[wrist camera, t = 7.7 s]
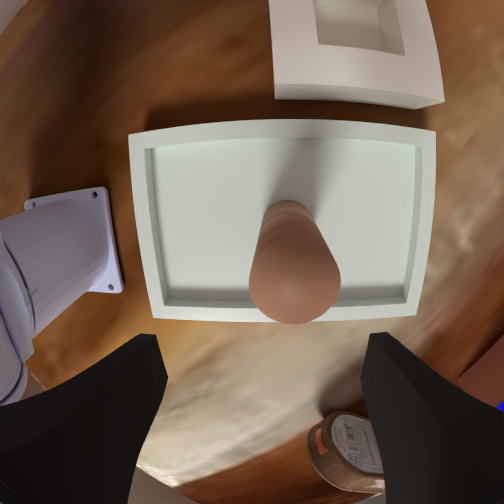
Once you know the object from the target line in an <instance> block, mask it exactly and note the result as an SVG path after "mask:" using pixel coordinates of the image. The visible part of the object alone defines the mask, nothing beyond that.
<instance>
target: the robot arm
mask: <svg viewBox="0 0 504 504" xmlns="http://www.w3.org/2000/svg"><path fill="white" fill-rule="evenodd" d="M95 192H96V193H97V197H95V195H94V194H95ZM35 203H36V205H35ZM111 284H112V285H113V287H114V288H112V287H111ZM123 289H124V285H123V281H122V276H121V271H120V267H119V262H118V256H117V251H116V245H115V240H114V234H113V227H112V220H111V213H110V206H109V198H108V191H107V189H106V188H105V187H95V188H89V189H82V190H76V191H70V192H65V193H59V194H54V195H49V196H44V197H39V198H34V199H29V200H26V201H25V211H24V212H21V213H18V214H16V215H13V216H10V217H8V218H5V219H2V220H0V504H127V503H128V497H129V491H130V487H131V483H132V478H133V474H134V471H135V467H136V463H137V460H138V456H139V454H140V451H141V448H142V446H143V443H144V441H145V439H146V436H147V434H148V432H149V430H150V427H151V425H152V423H153V420H154V418H155V416H156V413H157V411H158V409H159V406H160V404H161V402H162V399H163V395H164V392H165V388H166V384H167V380H168V375H167V372H166V369H165V365H164V362H163V359H162V355H161V352H160V348H159V345H158V341H157V338H156V335H153V334H139V335H137V336H135V337H134V338H132V339H131V340H129V341H128V342H126V343H125V344H123V345H122V346H120V347H119V348H117V349H116V350H115V351H113V352H112V353H110V354H109V355H107V356H106V357H104V358H103V359H101V360H100V361H98V362H97V363H96V364H94V365H92V366H91V367H89V368H87V369H86V370H84V371H83V372H81V373H79V374H78V375H76V376H75V377H73V378H71V379H69V380H68V381H66V382H64V383H62V384H60V385H58V386H56V387H54V388H52V389H50V390H47V391H45V392H43V393H40V394H37V395H35V396H32V397H29V398H27V399H24V400H21V401H19V400H20V398H21V396H22V395H23V393H24V390H25V387H26V384H27V377H28V375H27V368H26V365H25V363H24V362H25V361H26V360H27V359H28V358H29V357H30V356H31V355H32V354H33V353H34V349H33V345H32V339H33V338H34V337H35V336H36V335H37V334H38V333H39V332H40V331H41V330H43V329H44V328H45V327H46V326H47V325H48V324H49V323H50V322H51V321H52V320H54V319H55V318H56V317H57V316H58V315H59V314H60V313H62V312H63V311H64V310H65V309H66V308H67V307H68V306H70V305H71V304H72V303H73V302H74V301H75V300H77V299H78V298H79V297H80V296H81V295H82V294H84V293H85V292H86V291H94V292H108V293H120V292H121V291H122V290H123ZM360 379H361V384H362V391H363V396H364V402H365V405H366V409H367V412H368V415H369V419H370V422H371V425H372V428H373V432H374V435H375V439H376V442H377V445H378V449H379V452H380V457H381V461H382V467H383V474H384V483H385V494H386V504H504V411H502V410H499V409H497V408H495V407H493V406H491V405H488V404H486V403H484V402H482V401H480V400H478V399H477V398H475V397H473V396H471V395H470V394H468V393H466V392H465V391H463V390H461V389H460V388H458V387H456V386H455V385H453V384H452V383H451V382H449V381H448V380H446V379H445V378H444V377H442V376H441V375H439V374H438V373H437V372H435V371H434V370H433V369H431V368H430V367H429V366H428V365H426V364H425V363H424V362H423V361H421V360H420V359H419V358H418V357H417V356H415V355H414V354H413V353H412V352H411V351H409V350H408V349H407V348H406V347H405V346H403V345H402V344H401V343H400V342H399V341H397V340H396V339H395V338H394V337H393V336H391V335H390V334H389V333H387V332H382V333H371V334H370V336H369V341H368V346H367V351H366V356H365V360H364V365H363V369H362V373H361V378H360Z"/></svg>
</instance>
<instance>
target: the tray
mask: <svg viewBox="0 0 504 504" xmlns="http://www.w3.org/2000/svg"><path fill="white" fill-rule="evenodd" d="M128 136H129V154H130V169H131V180H132V191H133V200H134V209H135V217H136V225H137V232H138V239H139V245H140V251H141V257H142V263H143V269H144V274H145V280H146V285H147V290H148V295H149V300H150V304H151V309H152V313H153V318H165V319H182V320H202V321H231V322H278V321H275V320H273V319H271V318H269V317H267V316H266V315H264V314H263V313H262V312H261V311H260V310H259V309H258V308H257V307H256V305H255V304H254V302H253V300H252V298H251V295H250V291H249V276H250V271H251V267H252V262H253V258H254V254H255V250H256V245H257V241H258V237H259V232H260V228H261V224H262V219H263V216H264V214H265V212H266V211H267V209H268V208H269V207H270V206H271V205H273V204H274V203H276V202H278V201H282V200H293V201H297V202H299V203H301V204H302V205H304V206H305V207H306V208H307V209H308V211H309V212H310V214H311V216H312V217H313V219H314V221H315V223H316V225H317V227H318V229H319V230H320V232H321V234H322V236H323V238H324V240H325V242H326V244H327V246H328V247H329V249H330V251H331V253H332V255H333V257H334V259H335V261H336V263H337V265H338V268H339V271H340V276H341V286H340V291H339V294H338V296H337V299H336V301H335V302H334V304H333V305H332V306H331V308H330V309H329V310H328V311H327V312H325V313H324V314H323V315H321V316H320V317H318V318H316V319H314V320H312V321H339V320H359V319H375V318H389V317H401V316H412V315H416V312H417V308H418V304H419V300H420V295H421V290H422V286H423V281H424V275H425V270H426V264H427V258H428V252H429V245H430V237H431V229H432V220H433V210H434V197H435V177H436V132H435V131H429V130H423V129H417V128H411V127H404V126H396V125H388V124H379V123H369V122H357V121H342V120H319V119H266V120H243V121H228V122H216V123H206V124H196V125H188V126H180V127H172V128H165V129H159V130H153V131H147V132H141V133H136V134H130V135H128ZM309 322H310V321H309Z"/></svg>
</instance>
